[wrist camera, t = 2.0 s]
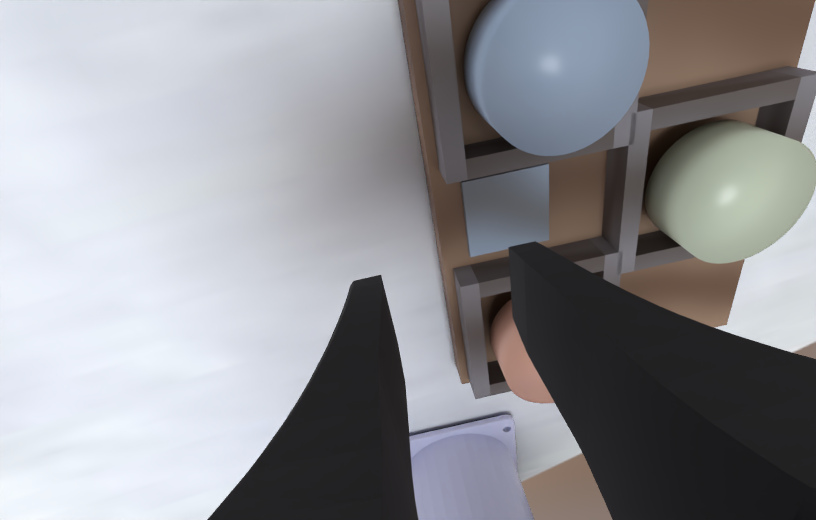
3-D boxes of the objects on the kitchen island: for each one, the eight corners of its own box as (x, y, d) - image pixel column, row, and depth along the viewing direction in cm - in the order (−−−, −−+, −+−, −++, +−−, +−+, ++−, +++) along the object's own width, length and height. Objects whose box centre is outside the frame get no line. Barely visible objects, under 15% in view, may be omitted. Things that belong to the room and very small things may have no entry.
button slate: (603, 119, 17) (639, 138, 15) (470, 147, 17) (489, 170, 15) (613, -42, 14) (659, -46, 12) (455, -10, 14) (475, -8, 12)
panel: (707, 307, 26) (747, 342, 24) (455, 364, 26) (468, 405, 24) (814, -139, 16) (906, -162, 13) (389, -53, 15) (399, -60, 13)
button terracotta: (588, 353, 23) (613, 389, 21) (493, 375, 23) (508, 413, 21) (593, 273, 21) (622, 305, 18) (485, 297, 20) (502, 332, 18)
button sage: (748, 221, 20) (794, 248, 18) (639, 245, 20) (673, 275, 18) (778, 107, 17) (837, 124, 15) (652, 134, 17) (694, 154, 15)
